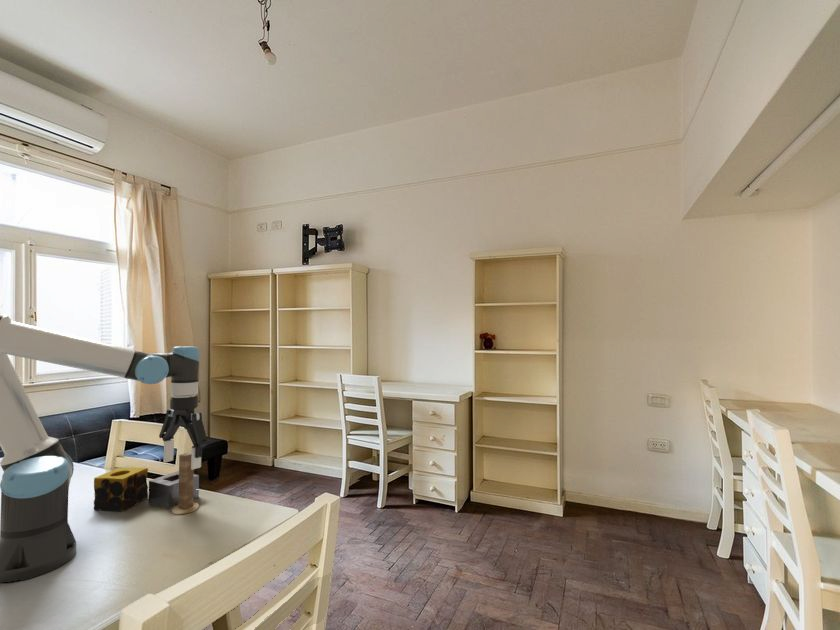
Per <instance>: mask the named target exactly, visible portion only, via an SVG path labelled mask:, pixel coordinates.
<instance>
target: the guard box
mask: <svg viewBox="0 0 840 630" xmlns="http://www.w3.org/2000/svg"><path fill="white" fill-rule="evenodd" d="M196 489H199V490H196ZM199 495H200V475H199V474H195V473H194V486H193V500H194V499H196V498H199ZM148 504H150V505H153V506H156V507H161V508H164V509H166V510H167V509H168V510H169V509H173V508H174V507H176V506H178V505H179V470H177V471H174V472H171V473H168V474H166V475H165V474H164V475H163V476H159V477H156V478H153V479H150V480H148Z"/></svg>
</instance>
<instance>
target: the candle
mask: <svg viewBox="0 0 840 630" xmlns="http://www.w3.org/2000/svg"><path fill="white" fill-rule="evenodd" d="M148 469H149V468H148V467H129V466H128V467H127V466H125V467H118V468H115V469H112V470H110V471H108V472H105V473H103V474H100V475H98V476H96V477H94V479H93V490H94V500H93V510H95V511H106V512H108V511H110V512H115V511H116V512H124V511H127V510H129V509H130V508H132V507H134V506H136V505H138V504H139V503H141V502H142V501H145V500H147V499H149V485H148V482H147V480H148V479H147V477H148V471H149V470H148Z"/></svg>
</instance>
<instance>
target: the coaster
mask: <svg viewBox="0 0 840 630" xmlns="http://www.w3.org/2000/svg"><path fill="white" fill-rule="evenodd" d="M198 509H199V503H198V502H193V507H190V508H188V509H186V510H183V509H179V505H177V506H175V507H172V508H171V512H172V514H173V515H177V516H179V515H186V514H190V513H193V512H195V511H197V510H198Z"/></svg>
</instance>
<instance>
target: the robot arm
mask: <svg viewBox="0 0 840 630" xmlns="http://www.w3.org/2000/svg"><path fill="white" fill-rule="evenodd" d="M171 349H172V350H171V352H165V353H163V352H159V353H158V352H143V351H137V350H135V349H130V348H126V347H122V346H117V345H113V344H110V343H109V344H108V343H105V342H101V341H97V340H93V339H88V338H84V337H80V336H76V335H72V334H67V333H63V332H59V331H55V330H50V329H47V328H42V327H40V326H39V327H38V326H34V325H30V324H26V323H21V322H17V321H14V320H12V319H11V318H10V316H9V315H8V314H3V313H0V448H1V450H2V452H3V454H4V455H3V457H2V459H1V461H0V467H1V469H2V471H3V474H2V477H1V480H0V491H1V492H0V493H1V497H0V584H4V583H3V582H8V583H12V582H11V581H15V582H18V581H17V580H20V581H23V579H25V580H29V579H33V578H36V577H38V576H41V575H43V574H44V575H45V574H46V573H47V574H48V573H49V572H52V571H54V570H56V569H58V568H60V567H61V566H64V565H65V564H66V563H68V562H69V561H71V560H72V559H73V558H74V557H75V555H76V554H77V540H76V538H75V536H74V533H73V531H72V528H71V527H70V524H69V521H68V520H69V519H68V517H69V489H70V484H71V479H72V477H73V474H74V461H73V460H72V458H71V456H70V455H69V453H67V452H66V451H65V450H64V448H63V446H62V444H61V443H60V441H59V438H57V437H53V436H49V435H48V433H47V431H46V430H45V427H44V426H43V423H42V421H41V420H40V417H39V416H38V413H37V411H36V410H35V408H34V405H33V404H32V401H31V399H30V398H29V395H28V394H27V392H26V389H25V387H24V385H23V383H22V382H21V379H20V377H19V375H18V373H17V372H16V369H15V367H14V365H13V363H12V362H11V360H10V358H9V356H13V357H20V358H24V359H29V360H35V361H39V362H44V363H49V364H54V365H59V366H63V367H69V368H73V369H74V368H75V369H78V370H84V371H89V372H94V373H98V374H103V375H109V376H114V377H117V378H123V379H126V380H132V381H137V382H140V383H142V384H147V385H155V384H159V383H161V382H162V381H164V380H165V379H166V378H167V379H168V378H171V381H170V396H171V397H170V399H169V400H170V401H169V409H167V410H166V413H165V418H164V421H163V424H162V426H161V430H160V431H159V435H158V437H159V438H160V439H162V441H163V463H168V462H172V461H174V454H175V453H174V451H175V438H174V436H175V434H176V433H177V431H178V430H179V428H180V427H182V428H183V429H185V430H186V432H187V434H188V436H189V438H190V441H191V443H192V444H193V445H192V446H191V453H192V455H191V469H192V470H193V469H194V470H196V469H200V468H201V467H202V456H203V447H204V446H205V445H208V443H209V442H208V441H209V440H208V438H207V437H208V436H207V435H206V430H205V425H204V423H203V415H202V414H203V413H202V412H195V409H196V408H198V407H199V396H198V394H199V380H200V379H199V377H200V363H201V360H200V349H199V347H197V346H196V345H195V346H193V345H190V346H189V345H186V346H184V345H183V346H181V345H178V346H173V347H172V348H171ZM28 578H29V579H28Z"/></svg>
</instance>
